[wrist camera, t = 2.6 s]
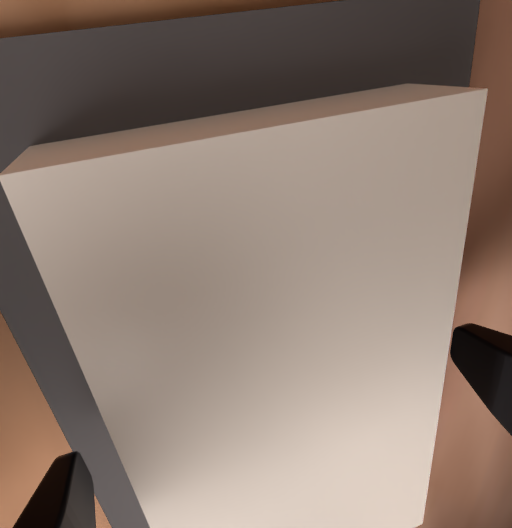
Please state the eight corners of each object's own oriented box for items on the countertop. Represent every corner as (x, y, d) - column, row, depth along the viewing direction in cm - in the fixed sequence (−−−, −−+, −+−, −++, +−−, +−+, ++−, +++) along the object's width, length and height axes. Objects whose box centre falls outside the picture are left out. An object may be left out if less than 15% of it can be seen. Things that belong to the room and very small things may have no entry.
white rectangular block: (384, 466, 14) (422, 523, 12) (181, 546, 12) (192, 624, 10) (407, 83, 8) (487, 88, 6) (29, 146, 6) (-3, 175, 5)
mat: (410, 466, 15) (418, 477, 15) (143, 573, 13) (143, 590, 13) (462, -11, 8) (482, -16, 7) (-114, 54, 6) (-133, 53, 5)
